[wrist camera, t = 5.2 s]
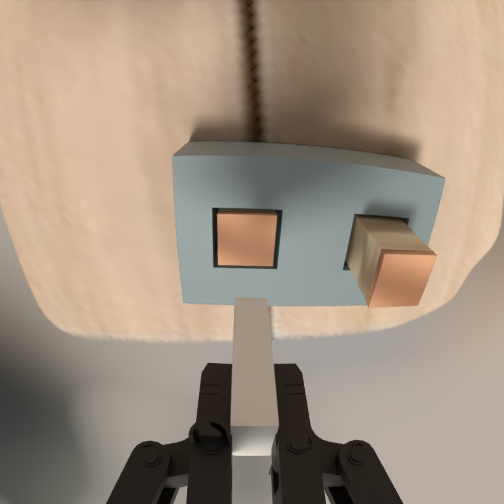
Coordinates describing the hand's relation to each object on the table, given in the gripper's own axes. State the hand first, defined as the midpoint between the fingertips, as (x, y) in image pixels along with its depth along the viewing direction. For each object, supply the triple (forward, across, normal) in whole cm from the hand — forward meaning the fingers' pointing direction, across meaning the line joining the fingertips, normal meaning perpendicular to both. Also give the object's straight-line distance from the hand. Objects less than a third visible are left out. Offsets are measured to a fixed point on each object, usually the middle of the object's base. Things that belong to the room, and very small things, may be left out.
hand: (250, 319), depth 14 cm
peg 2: (+9, +10, 0) cm, 14 cm away
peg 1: (+14, 0, 0) cm, 14 cm away
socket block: (+14, +5, 0) cm, 15 cm away
